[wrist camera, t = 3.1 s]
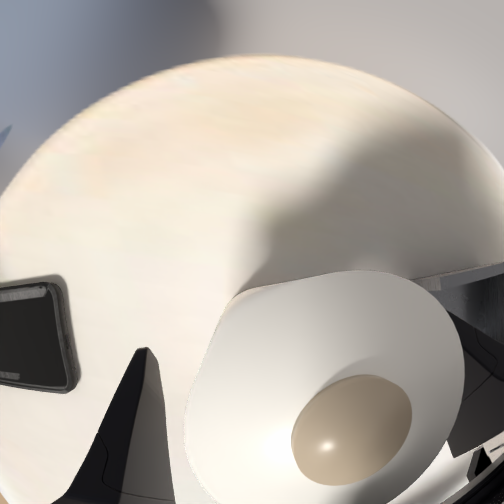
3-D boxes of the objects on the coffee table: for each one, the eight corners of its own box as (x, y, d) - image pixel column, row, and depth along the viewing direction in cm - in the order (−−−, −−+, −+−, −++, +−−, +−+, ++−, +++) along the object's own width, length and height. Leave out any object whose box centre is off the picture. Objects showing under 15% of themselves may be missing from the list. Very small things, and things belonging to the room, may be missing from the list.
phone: (-47, 294, 14) (55, 280, 15) (-40, 294, 15) (63, 281, 16) (-34, 377, 13) (76, 396, 14) (-27, 375, 14) (83, 391, 15)
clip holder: (480, 265, 18) (509, 260, 15) (482, 363, 17) (509, 369, 14) (407, 280, 18) (439, 277, 14) (410, 398, 16) (438, 412, 13)
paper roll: (321, 319, 17) (502, 361, 4) (271, 386, 16) (353, 551, 3) (253, 269, 17) (327, 193, 4) (201, 339, 16) (119, 467, 3)
